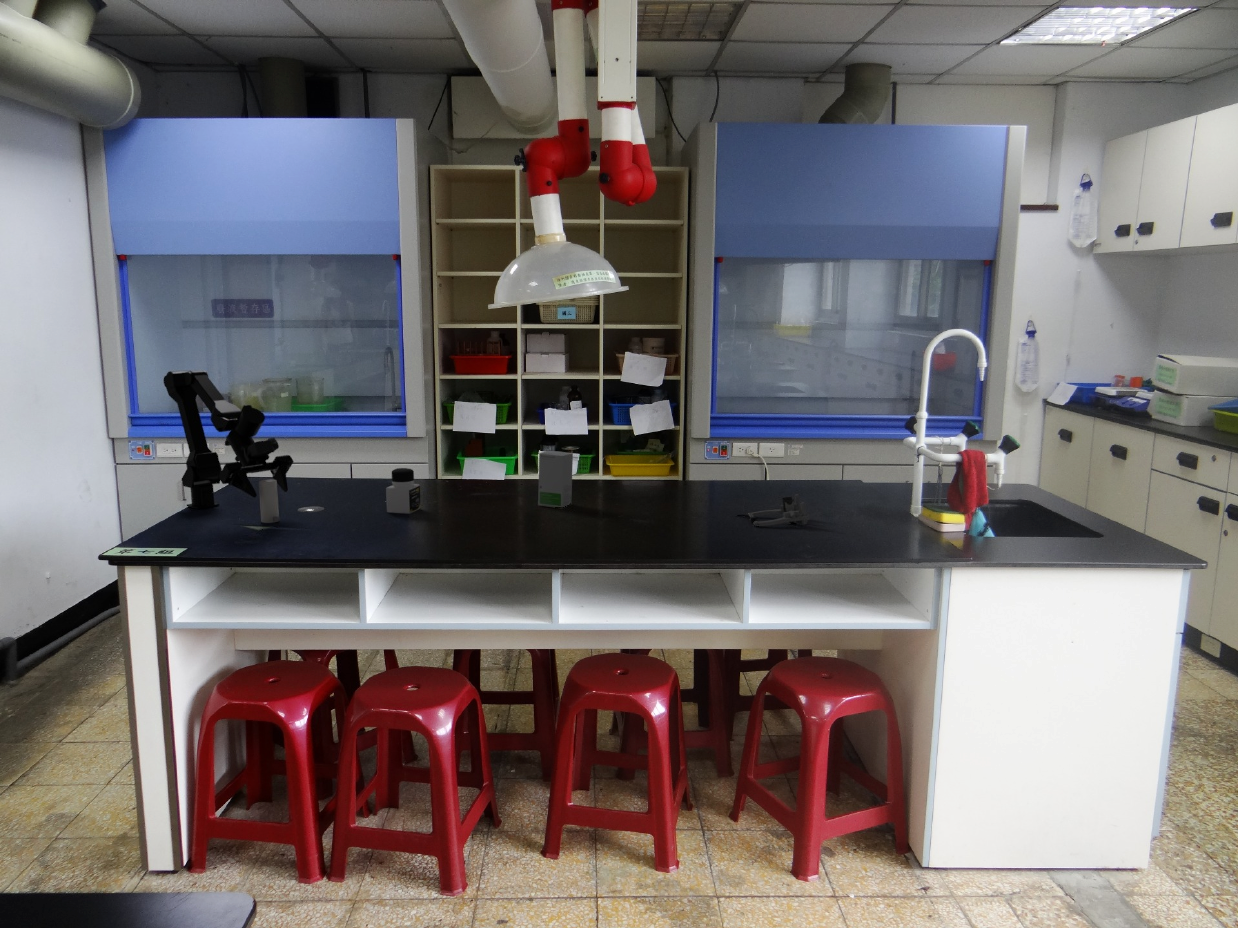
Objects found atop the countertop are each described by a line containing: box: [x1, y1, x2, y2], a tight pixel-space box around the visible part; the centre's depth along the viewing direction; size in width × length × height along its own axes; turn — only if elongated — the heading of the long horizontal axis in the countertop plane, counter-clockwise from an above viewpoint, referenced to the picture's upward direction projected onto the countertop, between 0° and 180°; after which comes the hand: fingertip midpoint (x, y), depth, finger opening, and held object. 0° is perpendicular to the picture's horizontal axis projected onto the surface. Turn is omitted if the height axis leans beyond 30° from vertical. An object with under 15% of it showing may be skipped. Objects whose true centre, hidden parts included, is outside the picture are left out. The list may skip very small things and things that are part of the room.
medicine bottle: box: [385, 467, 421, 515], centre depth 246 cm, size 7×7×12 cm
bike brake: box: [736, 493, 811, 527], centre depth 237 cm, size 14×7×20 cm
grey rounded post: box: [258, 478, 280, 524], centre depth 230 cm, size 6×4×11 cm
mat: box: [233, 523, 276, 531], centre depth 231 cm, size 12×12×1 cm
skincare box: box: [537, 450, 574, 508], centre depth 254 cm, size 8×7×16 cm
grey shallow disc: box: [297, 506, 325, 513], centre depth 245 cm, size 7×7×1 cm
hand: (271, 493), depth 229 cm, fingers open, 9 cm apart
